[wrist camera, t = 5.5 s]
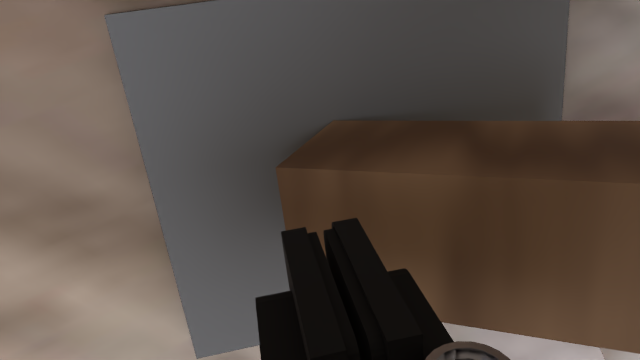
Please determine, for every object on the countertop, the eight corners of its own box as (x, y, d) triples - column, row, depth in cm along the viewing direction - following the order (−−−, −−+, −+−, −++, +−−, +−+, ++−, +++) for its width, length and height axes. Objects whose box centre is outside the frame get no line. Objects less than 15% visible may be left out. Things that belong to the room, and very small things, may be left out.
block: (333, 120, 16) (671, 120, 12) (345, 230, 18) (650, 260, 14) (275, 167, 13) (713, 187, 9) (296, 298, 14) (680, 360, 11)
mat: (564, -47, 16) (572, -47, 16) (544, 276, 20) (550, 281, 20) (107, 14, 14) (104, 15, 14) (197, 351, 19) (196, 358, 18)
